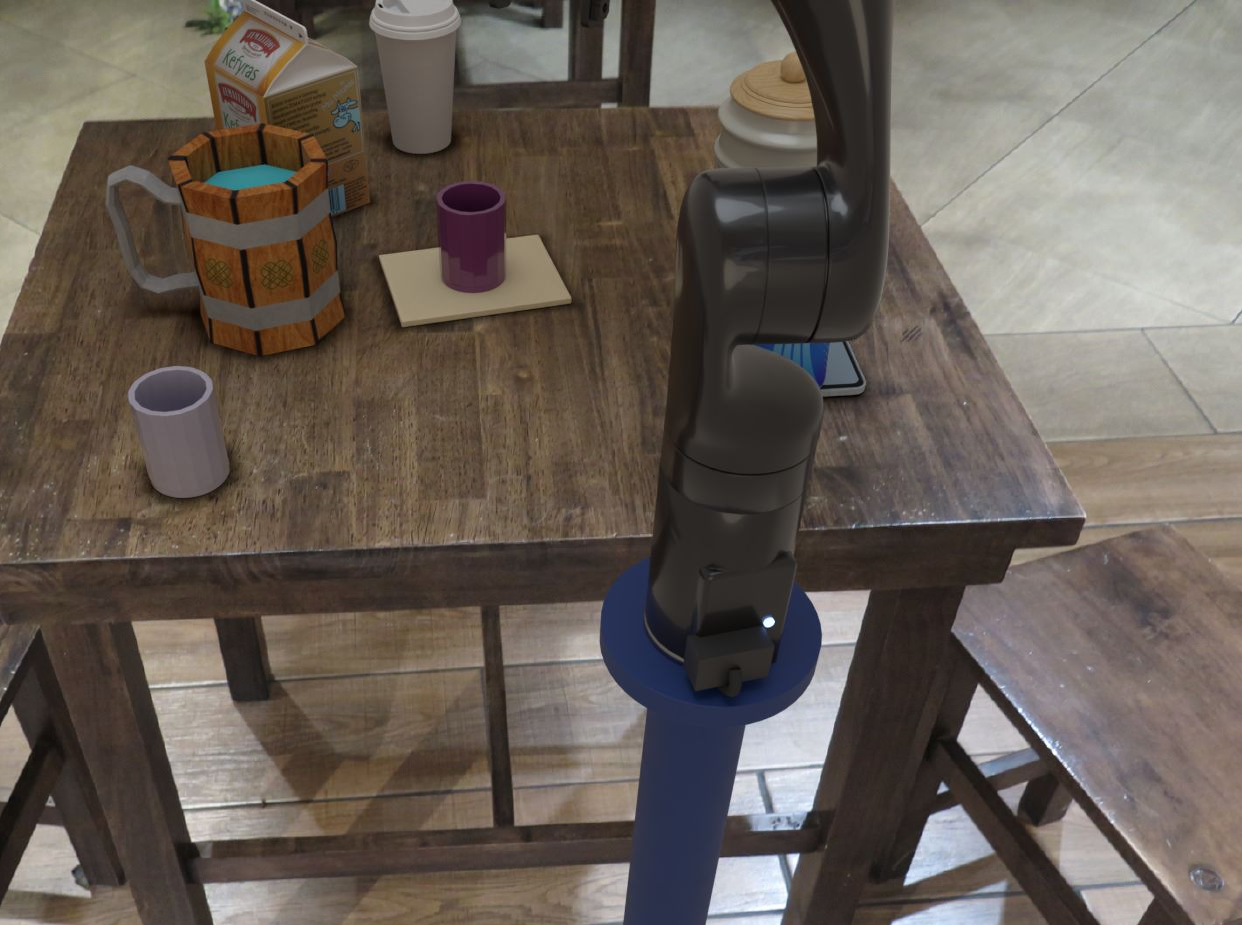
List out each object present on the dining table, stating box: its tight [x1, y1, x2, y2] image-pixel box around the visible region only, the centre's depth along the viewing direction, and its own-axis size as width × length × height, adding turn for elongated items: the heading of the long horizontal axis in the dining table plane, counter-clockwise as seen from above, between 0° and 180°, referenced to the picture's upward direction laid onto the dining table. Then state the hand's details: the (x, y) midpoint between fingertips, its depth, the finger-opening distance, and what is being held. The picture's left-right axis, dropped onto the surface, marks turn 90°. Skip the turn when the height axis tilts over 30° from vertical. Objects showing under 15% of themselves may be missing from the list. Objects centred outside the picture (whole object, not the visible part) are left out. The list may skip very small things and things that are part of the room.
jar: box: [712, 51, 817, 169], centre depth 121 cm, size 13×13×18 cm
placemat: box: [378, 234, 572, 328], centre depth 120 cm, size 12×16×1 cm
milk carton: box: [204, 0, 371, 218], centre depth 124 cm, size 11×11×19 cm
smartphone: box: [820, 341, 867, 397], centre depth 112 cm, size 7×1×15 cm
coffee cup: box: [368, 0, 462, 155], centre depth 135 cm, size 10×10×15 cm
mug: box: [104, 123, 347, 357], centre depth 111 cm, size 20×14×15 cm
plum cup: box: [435, 180, 507, 293], centre depth 117 cm, size 6×6×8 cm
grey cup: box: [127, 365, 231, 499], centre depth 97 cm, size 6×6×8 cm
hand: (545, 16), depth 99 cm, fingers open, 8 cm apart
